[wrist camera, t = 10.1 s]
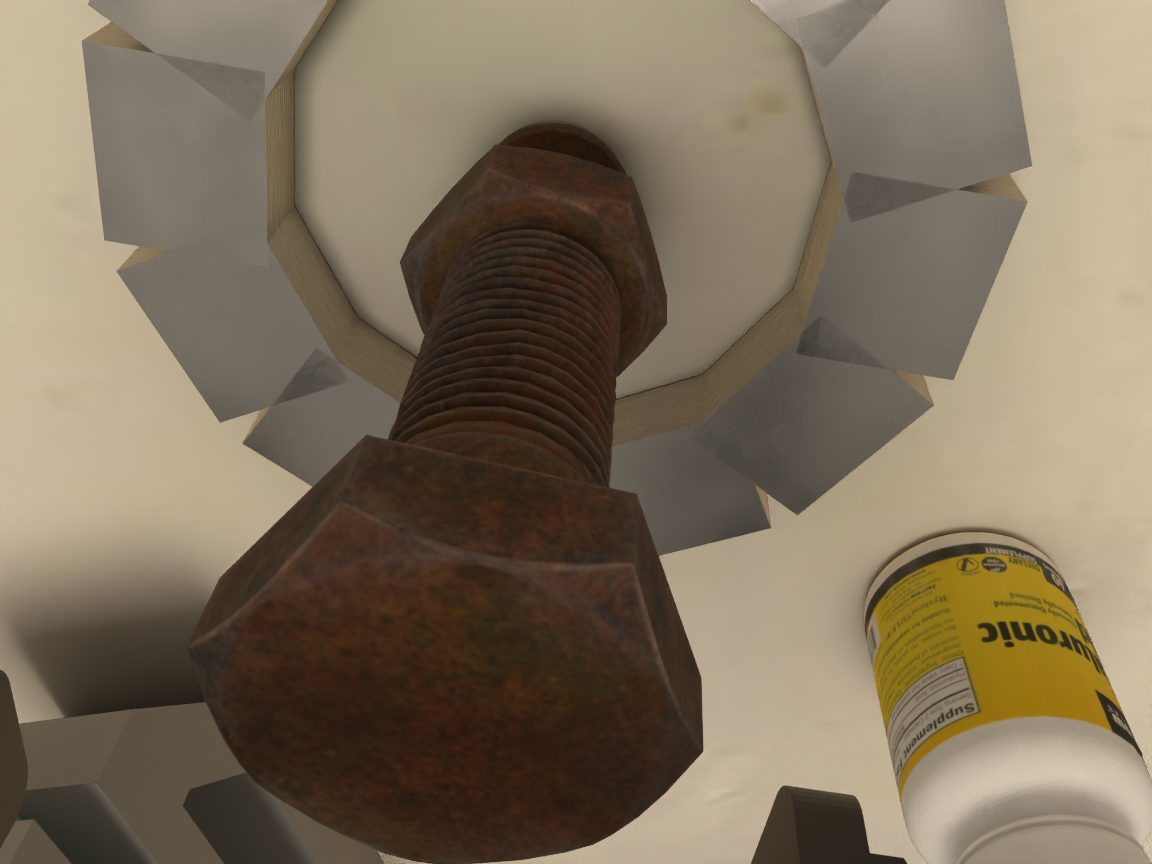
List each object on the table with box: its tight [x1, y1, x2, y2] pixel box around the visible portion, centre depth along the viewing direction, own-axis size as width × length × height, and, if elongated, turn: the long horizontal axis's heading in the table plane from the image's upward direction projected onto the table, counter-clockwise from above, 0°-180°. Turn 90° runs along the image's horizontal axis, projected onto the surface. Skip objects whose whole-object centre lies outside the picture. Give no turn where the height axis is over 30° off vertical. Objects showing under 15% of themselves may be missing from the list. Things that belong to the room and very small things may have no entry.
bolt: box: [187, 124, 703, 864], centre depth 18 cm, size 6×5×15 cm
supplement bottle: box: [864, 532, 1152, 864], centre depth 26 cm, size 5×5×10 cm
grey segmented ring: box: [82, 0, 1032, 556], centre depth 23 cm, size 18×18×2 cm
